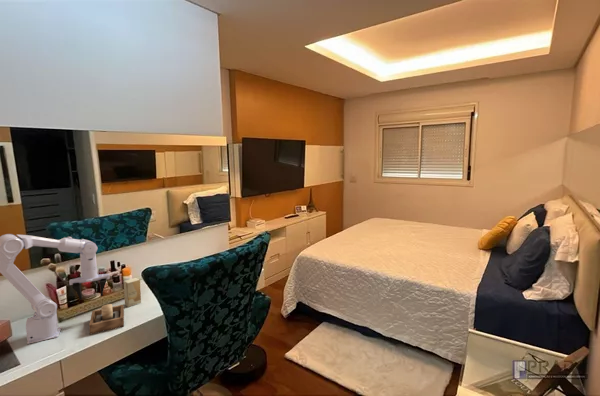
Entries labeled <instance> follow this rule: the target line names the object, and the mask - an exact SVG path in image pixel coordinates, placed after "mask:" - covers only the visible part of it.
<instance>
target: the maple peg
mask: <svg viewBox="0 0 600 396" xmlns="http://www.w3.org/2000/svg"><path fill="white" fill-rule="evenodd" d="M112 307H113V304H112V303H107V304H103V305H101V308H100V309H101V310H102V321H105V320H110V319H113V310H112Z"/></svg>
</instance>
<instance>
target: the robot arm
mask: <svg viewBox="0 0 600 396" xmlns="http://www.w3.org/2000/svg"><path fill="white" fill-rule="evenodd" d="M32 247H42V248H54V249H57V250H58V251H59V252H63V253H73V254H79V260H80V261H79V262H80V272H81V276H80V277H76V278H72V279H69V281H68V282H69V286H72V289H73V290H74V291H75V292H76V294H77V296H78V298H79V300H83V292H82V291H83V290H82V283H89V282H96V281H99V286H100V287H99V288H100V289H99V290H100V297H103V296H104V288H105V286H106V284H107V280H110V273H102V274H98V265H97V255H96V253H97V251H98V250H99V249H98V246H97V244H96V243H95V242H93V241H91V240H88V239H84V238H81V239H79V238H73V237H72V236H67V237H63V238H61V239H56V238H55V239H54V238H50V237H48V238H46V237H41V236H35V235H30V234H29V235H28V234H16V235H15V234H13V233H6V234H2V235H1V236H0V274H1V275H2V276H3V277H4V278H5V279H6V280H7V281H8V283H10V284H11V285H12V286H13V287H14V288H15V289H16V290H17V291H18V292H19V293H20V294H21V295H22V296H23V297H24V298H25V299H26V300H27V301H28V302H29V303H30V304H31V309H32V310H33V311H35V312H34V314H33V316H31V317H27V319H26V322H25V331H26V340H27V345H29V344H32V343H37V342H42V341H45V340H47V341H48V340H50V339H56V338H58V337H59V335H60V332H61V330H62V326H59V322H58V313H57V309H58V304H57V303H56V302H54V301H53V300H52V299H51V297H50V296H48V295H45V294H43V293H42V292H41V291H40V289H38V288H37V287H36V286H35V284H34V283H33V282H32V281H31V280H30V279H29V278H28V277H27V276H26V275H25V274H24V273H23V272H22V271H21V270H20V269H19V268H18V267H17V266H16V264H14V262H15V261H16V258H17V256H18V255H19V254H20V253H21V252H22V250H23V249H25V250H27V249H30V248H32Z"/></svg>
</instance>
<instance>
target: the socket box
mask: <svg viewBox="0 0 600 396" xmlns="http://www.w3.org/2000/svg"><path fill="white" fill-rule="evenodd" d="M112 310H113V319H110V320H105V321H102V310H101V308H99V309H94V310H92V311H91V316H90V320H89V325H88V326H89V327H88V328H89V335H94V334H98V332H99V333H102V332H108V331H111V330H116V329H120V328H124V326H125V309H124V304H119V305H118V304H117V305H114V306H113V305H112ZM115 328H116V329H115Z"/></svg>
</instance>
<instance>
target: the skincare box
mask: <svg viewBox="0 0 600 396" xmlns="http://www.w3.org/2000/svg"><path fill="white" fill-rule="evenodd" d="M123 292H124V293H123V294H124V295H123V296H124V305H125V306H126V307H128V308H130V307H132V306H136V305H139V304H142V296H141V294H142V293H141V292H142V291H141V280H140V278H138V277H135V278H134V277H133V278H129V279H126V280H123Z"/></svg>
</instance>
